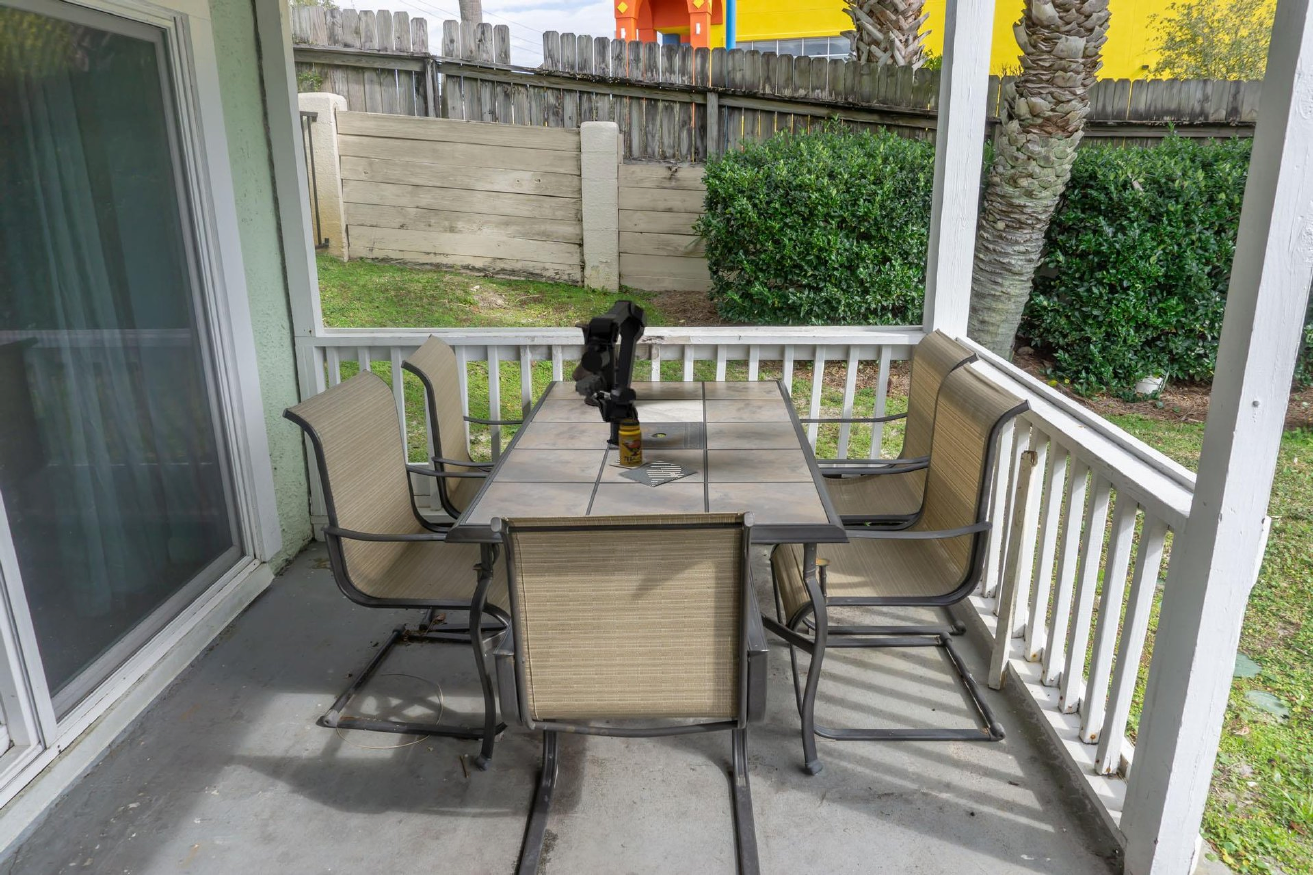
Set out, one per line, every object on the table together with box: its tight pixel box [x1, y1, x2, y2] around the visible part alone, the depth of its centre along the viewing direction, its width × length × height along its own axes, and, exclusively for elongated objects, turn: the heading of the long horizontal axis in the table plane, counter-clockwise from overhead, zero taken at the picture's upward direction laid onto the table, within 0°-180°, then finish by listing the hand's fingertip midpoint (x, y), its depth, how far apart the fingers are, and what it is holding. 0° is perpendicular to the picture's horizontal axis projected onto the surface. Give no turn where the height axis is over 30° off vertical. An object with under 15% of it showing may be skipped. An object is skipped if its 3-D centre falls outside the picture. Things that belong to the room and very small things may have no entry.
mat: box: [617, 459, 698, 487], centre depth 230 cm, size 13×16×1 cm
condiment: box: [608, 418, 649, 469], centre depth 236 cm, size 7×8×12 cm
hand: (605, 421), depth 241 cm, fingers closed
